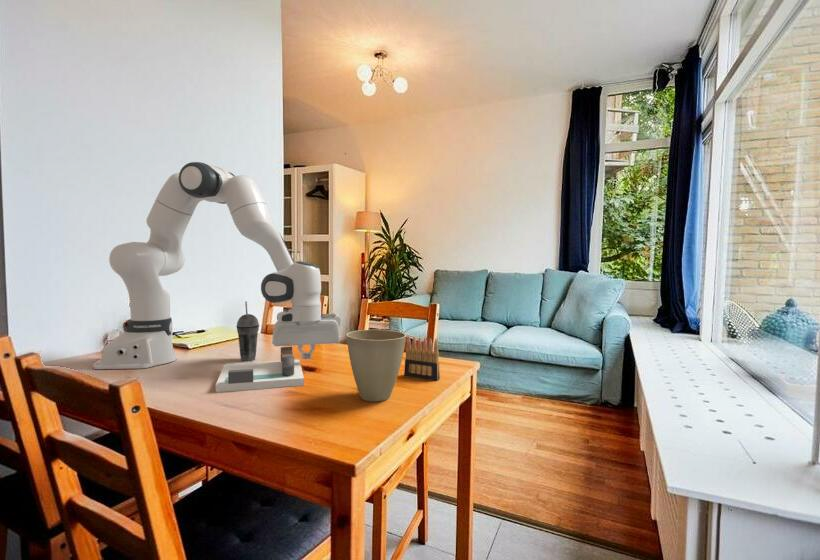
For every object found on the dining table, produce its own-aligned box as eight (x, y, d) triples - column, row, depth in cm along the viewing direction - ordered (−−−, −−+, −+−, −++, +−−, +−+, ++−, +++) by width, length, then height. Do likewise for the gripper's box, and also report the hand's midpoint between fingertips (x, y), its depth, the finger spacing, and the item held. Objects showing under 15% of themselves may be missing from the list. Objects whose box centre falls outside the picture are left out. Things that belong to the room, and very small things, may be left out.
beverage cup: (263, 357, 145) (263, 300, 144) (253, 363, 137) (253, 302, 136) (243, 357, 145) (242, 299, 144) (232, 362, 138) (231, 302, 137)
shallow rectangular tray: (215, 392, 107) (215, 373, 107) (225, 370, 128) (224, 354, 128) (304, 385, 114) (304, 367, 114) (299, 365, 135) (299, 350, 135)
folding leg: (294, 375, 116) (294, 358, 115) (281, 375, 114) (281, 359, 114) (292, 359, 133) (291, 345, 132) (280, 360, 132) (280, 346, 131)
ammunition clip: (439, 379, 122) (440, 338, 121) (437, 381, 120) (437, 339, 119) (406, 374, 126) (407, 335, 126) (404, 376, 125) (404, 336, 124)
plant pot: (382, 411, 95) (383, 342, 94) (333, 399, 103) (333, 335, 102) (416, 394, 108) (417, 332, 107) (370, 384, 116) (371, 327, 115)
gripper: (338, 312, 135) (338, 354, 136) (272, 313, 129) (272, 358, 130) (341, 314, 129) (341, 359, 130) (272, 316, 123) (272, 363, 124)
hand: (306, 358), depth 130 cm, fingers closed
